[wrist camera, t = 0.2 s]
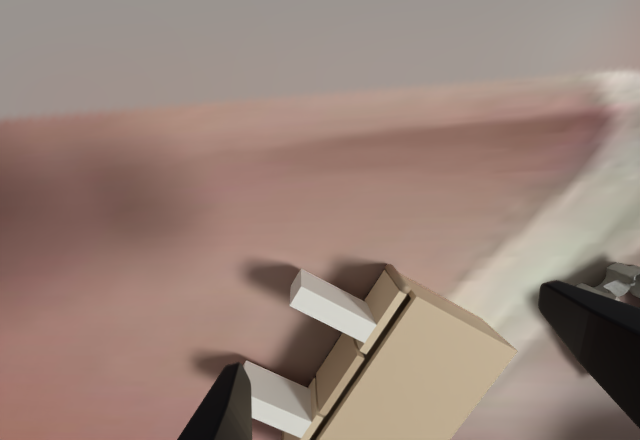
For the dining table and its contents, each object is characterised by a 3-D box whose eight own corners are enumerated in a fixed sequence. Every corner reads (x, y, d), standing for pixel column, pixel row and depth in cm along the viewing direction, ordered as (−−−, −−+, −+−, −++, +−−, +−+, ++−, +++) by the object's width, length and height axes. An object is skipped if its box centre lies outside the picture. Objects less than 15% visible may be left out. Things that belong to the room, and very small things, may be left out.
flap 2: (357, 325, 25) (367, 354, 21) (286, 289, 24) (284, 314, 20) (395, 266, 24) (412, 287, 20) (324, 227, 23) (328, 241, 19)
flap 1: (287, 431, 27) (285, 475, 23) (219, 402, 26) (205, 444, 22) (320, 380, 26) (324, 418, 22) (251, 348, 25) (242, 382, 21)
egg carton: (554, 289, 26) (599, 313, 22) (633, 247, 26) (694, 264, 22) (591, 379, 29) (638, 416, 24) (665, 342, 28) (725, 373, 24)
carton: (377, 462, 29) (390, 516, 24) (283, 422, 27) (280, 473, 23) (481, 318, 26) (517, 351, 22) (385, 265, 24) (403, 289, 20)
